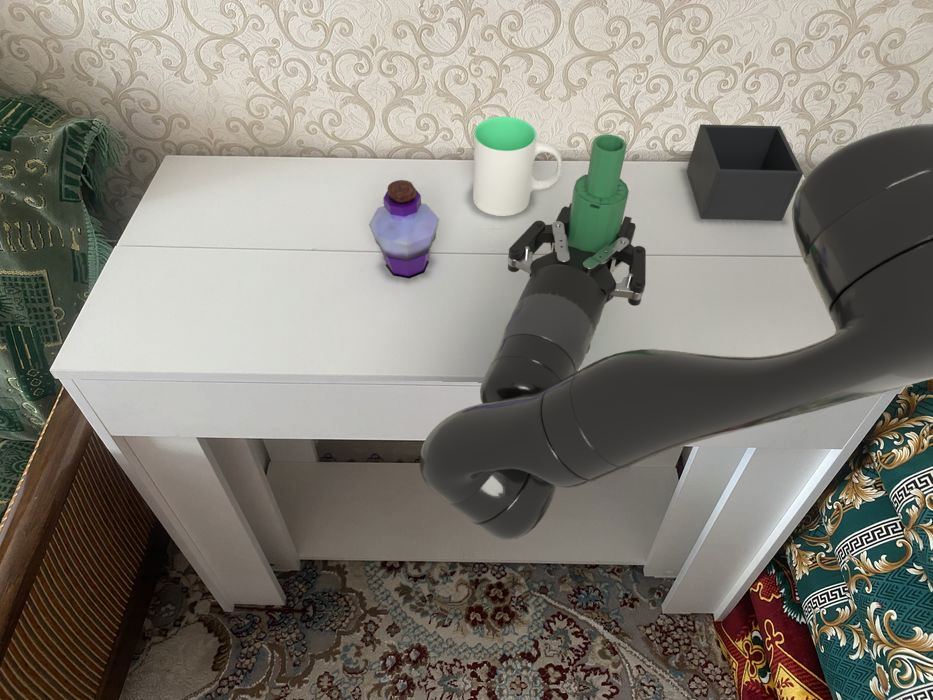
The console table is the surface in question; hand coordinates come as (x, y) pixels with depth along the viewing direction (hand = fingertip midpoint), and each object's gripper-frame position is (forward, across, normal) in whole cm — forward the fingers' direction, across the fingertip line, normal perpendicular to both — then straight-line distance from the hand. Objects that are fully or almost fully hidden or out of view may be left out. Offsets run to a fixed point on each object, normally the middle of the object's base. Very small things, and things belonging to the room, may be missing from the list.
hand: (599, 217), depth 72 cm
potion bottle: (0, +23, +14) cm, 27 cm away
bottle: (-3, 0, +13) cm, 13 cm away
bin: (+31, -14, +15) cm, 37 cm away
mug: (+18, +15, +15) cm, 28 cm away
